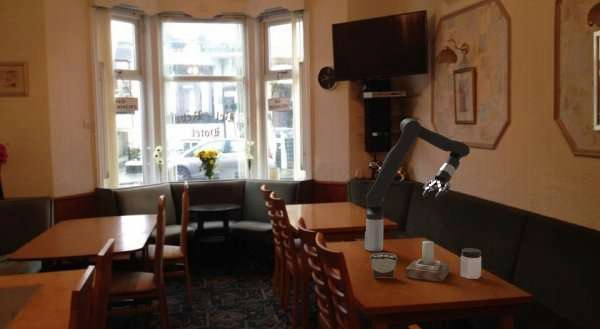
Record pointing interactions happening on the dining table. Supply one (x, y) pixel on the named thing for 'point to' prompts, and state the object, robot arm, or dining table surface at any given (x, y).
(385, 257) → the food container
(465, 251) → the jar
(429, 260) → the sage cylinder
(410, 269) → the display plinth
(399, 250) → the dining table surface
